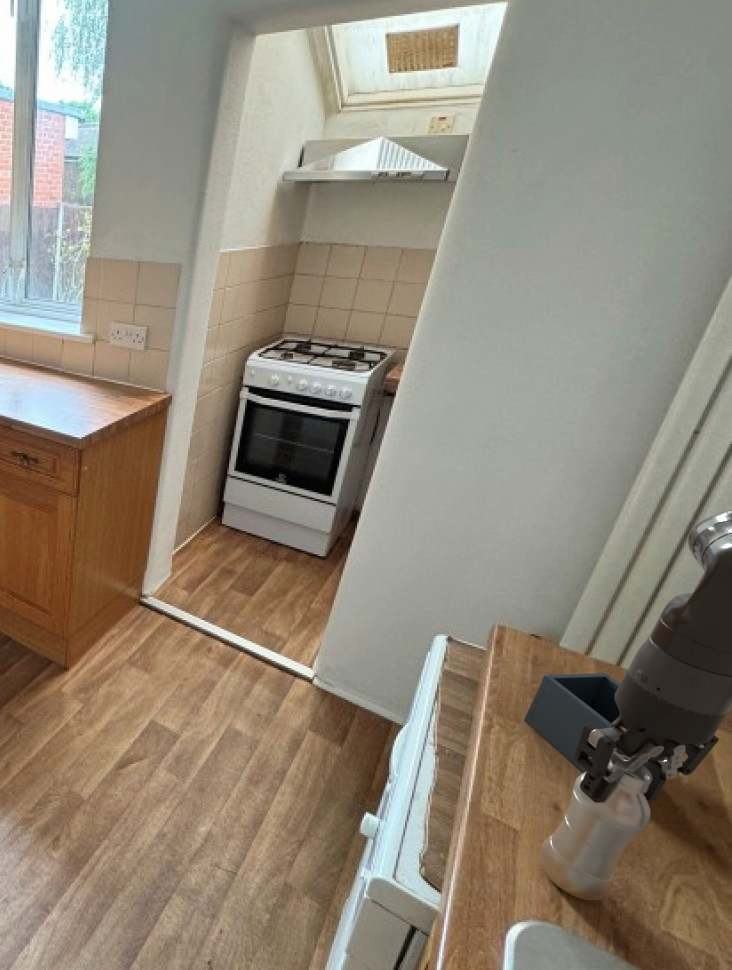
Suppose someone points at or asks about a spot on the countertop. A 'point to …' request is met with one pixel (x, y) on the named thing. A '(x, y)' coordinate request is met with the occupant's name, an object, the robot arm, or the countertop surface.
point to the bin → (573, 709)
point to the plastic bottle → (596, 835)
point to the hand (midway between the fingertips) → (615, 794)
